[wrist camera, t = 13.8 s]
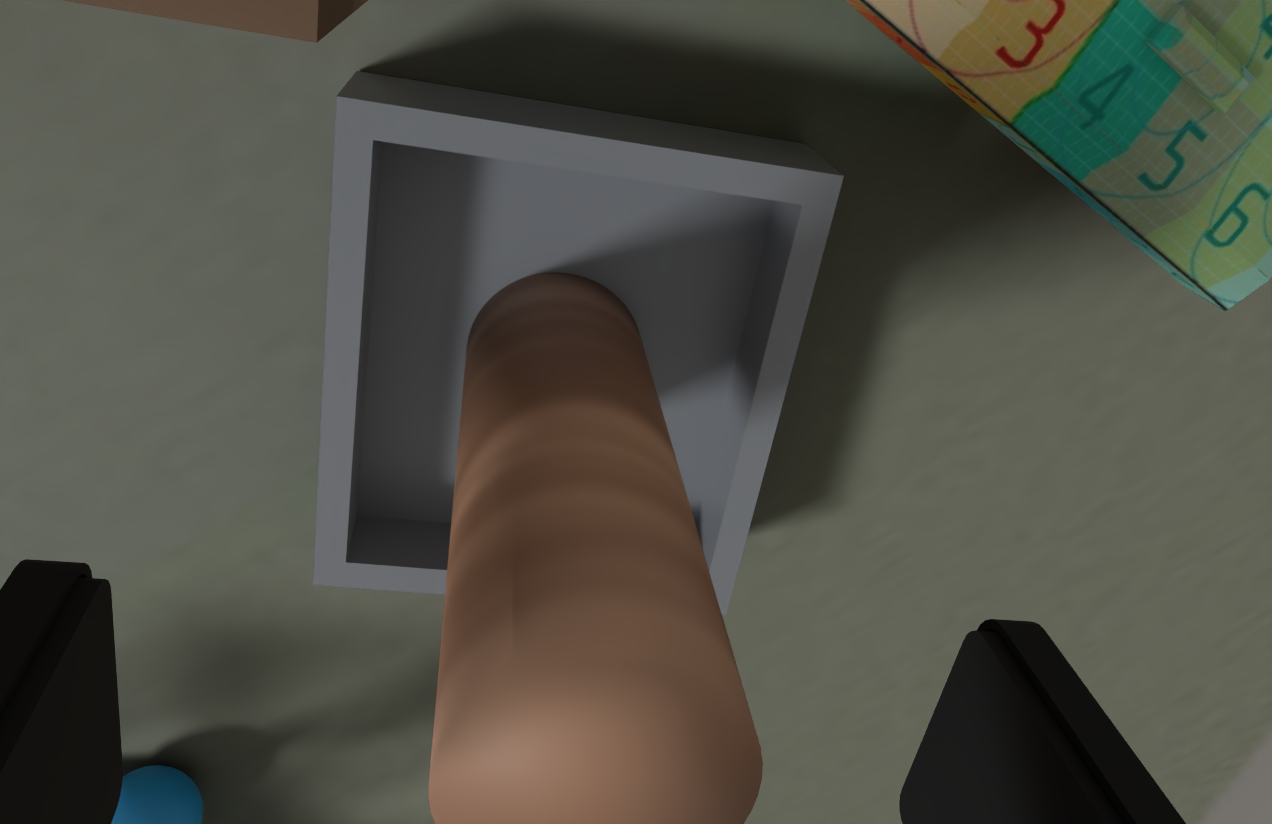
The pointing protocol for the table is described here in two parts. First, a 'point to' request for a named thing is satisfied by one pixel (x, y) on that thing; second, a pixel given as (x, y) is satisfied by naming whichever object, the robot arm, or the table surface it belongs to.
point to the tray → (548, 243)
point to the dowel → (578, 588)
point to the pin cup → (248, 14)
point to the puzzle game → (1125, 113)
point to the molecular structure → (158, 797)
